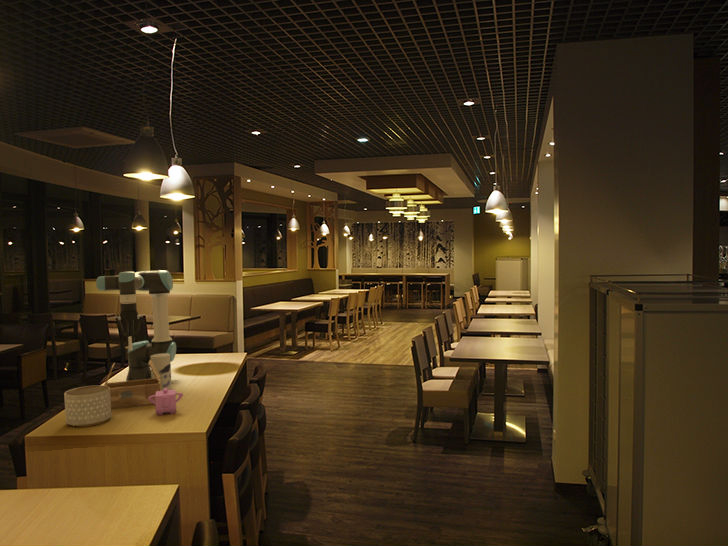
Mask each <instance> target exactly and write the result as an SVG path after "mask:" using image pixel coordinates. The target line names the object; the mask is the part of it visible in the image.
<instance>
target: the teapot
mask: <svg viewBox="0 0 728 546" xmlns="http://www.w3.org/2000/svg"><path fill="white" fill-rule="evenodd" d="M176 395H178V397H176ZM183 396H184V395H183V393H182V392H176V389H172V390H168V389H167V388H165V389H164V390H163V391H156V395H152V396H150V397H148V400H149V401H150V402H151V403H153V404H152V405H155V414H157V416H162V415H163V414H164V413H165V414H166V413H169V414H170V415H174V414H175V412H176V411H177V403H178V402H179V401H180V400H181V399H182V398H183ZM153 397H155V402H154V401H153V400H152V398H153Z"/></svg>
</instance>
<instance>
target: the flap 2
mask: <svg viewBox="0 0 728 546" xmlns="http://www.w3.org/2000/svg"><path fill="white" fill-rule="evenodd" d="M149 366H150V368H151V369H152V371H153V373H154V375H155V377H156V378H157V380H158V381H159V379H160V375H159V374H158V372H157V370H156V368H155V366H154V365H153V363H152V361H151V359H150V361H149Z"/></svg>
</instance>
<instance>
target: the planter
mask: <svg viewBox="0 0 728 546" xmlns="http://www.w3.org/2000/svg"><path fill="white" fill-rule="evenodd" d="M63 395H64V397H63V398H64V411H65V412H64V413H65V423H66V424H67V425H69V426H71V425H74V426H86V427H92V426H91V425H93V426H96V425H100V424H103V423H105V422H107V421H108V420H109V419H110V418H111V417H112V409H111V397H110V387H109V386H104V384H103V385H102V384H101V385H95V384H94V385H86V386H80V387H75V388H71V389H68V390H66V391H65V392H64V393H63ZM74 426H73V427H74Z"/></svg>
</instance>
